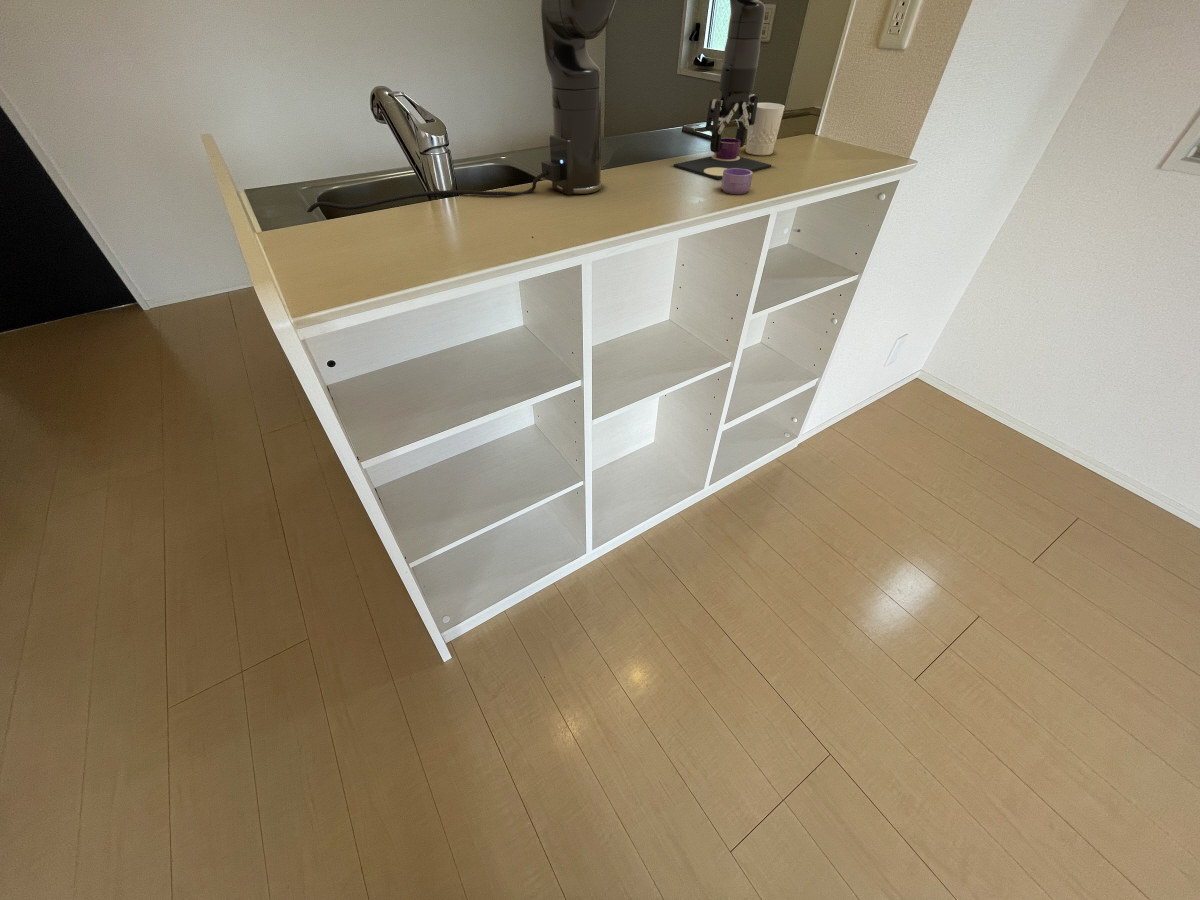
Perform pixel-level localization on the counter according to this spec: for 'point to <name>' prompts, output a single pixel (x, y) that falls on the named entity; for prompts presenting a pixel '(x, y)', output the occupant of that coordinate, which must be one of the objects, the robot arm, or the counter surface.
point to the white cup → (764, 129)
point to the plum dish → (728, 148)
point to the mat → (719, 166)
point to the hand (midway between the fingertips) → (726, 149)
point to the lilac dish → (736, 180)
